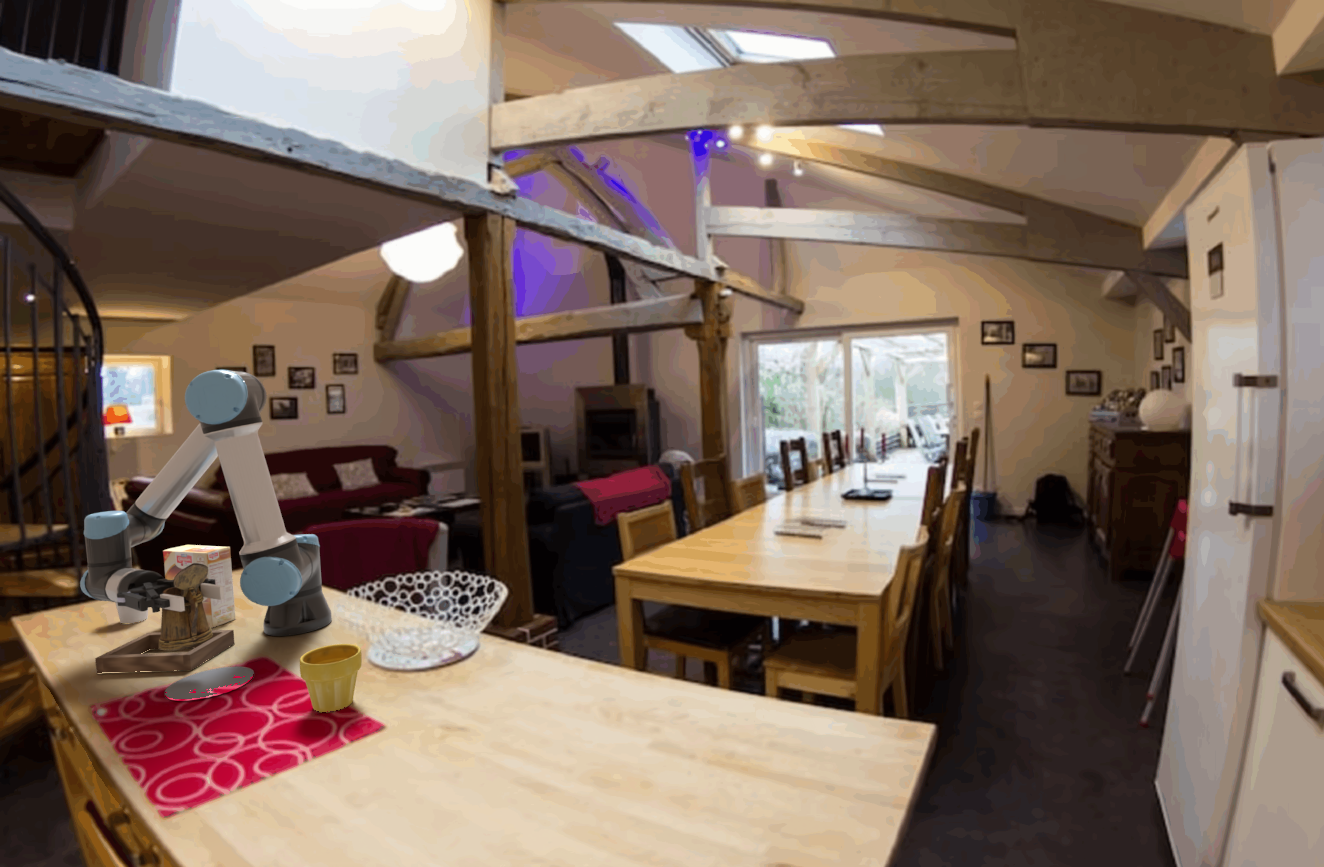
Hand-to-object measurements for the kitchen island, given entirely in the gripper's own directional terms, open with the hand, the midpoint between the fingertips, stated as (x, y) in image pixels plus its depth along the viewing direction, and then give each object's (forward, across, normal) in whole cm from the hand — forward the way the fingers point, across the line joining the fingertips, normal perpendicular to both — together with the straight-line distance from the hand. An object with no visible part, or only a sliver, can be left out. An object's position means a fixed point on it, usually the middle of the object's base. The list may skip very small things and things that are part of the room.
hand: (202, 598), depth 135 cm
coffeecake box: (-43, -24, -18) cm, 53 cm away
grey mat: (-1, -1, -18) cm, 18 cm away
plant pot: (+31, -4, -18) cm, 36 cm away
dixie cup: (-63, -18, -18) cm, 68 cm away
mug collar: (-24, -6, -18) cm, 31 cm away
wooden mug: (-5, 0, -10) cm, 11 cm away
